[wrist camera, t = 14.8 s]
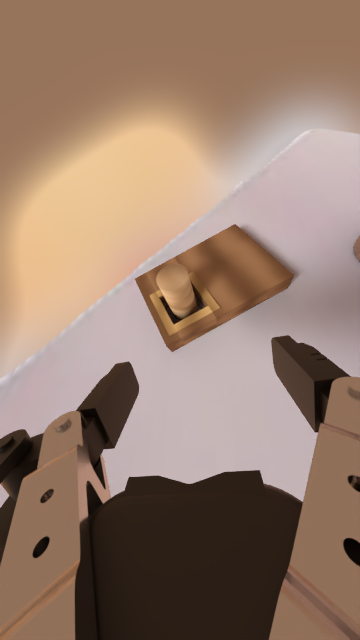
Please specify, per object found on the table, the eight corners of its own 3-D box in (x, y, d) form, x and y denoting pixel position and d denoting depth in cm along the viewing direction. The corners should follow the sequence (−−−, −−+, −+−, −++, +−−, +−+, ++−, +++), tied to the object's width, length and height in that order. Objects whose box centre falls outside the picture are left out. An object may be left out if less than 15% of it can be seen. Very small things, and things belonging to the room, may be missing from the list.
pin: (191, 297, 31) (179, 258, 23) (203, 315, 29) (194, 279, 21) (170, 308, 31) (151, 273, 23) (181, 327, 29) (163, 295, 21)
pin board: (234, 238, 34) (235, 223, 32) (287, 287, 28) (294, 274, 25) (141, 288, 34) (134, 278, 31) (172, 352, 27) (165, 345, 25)
